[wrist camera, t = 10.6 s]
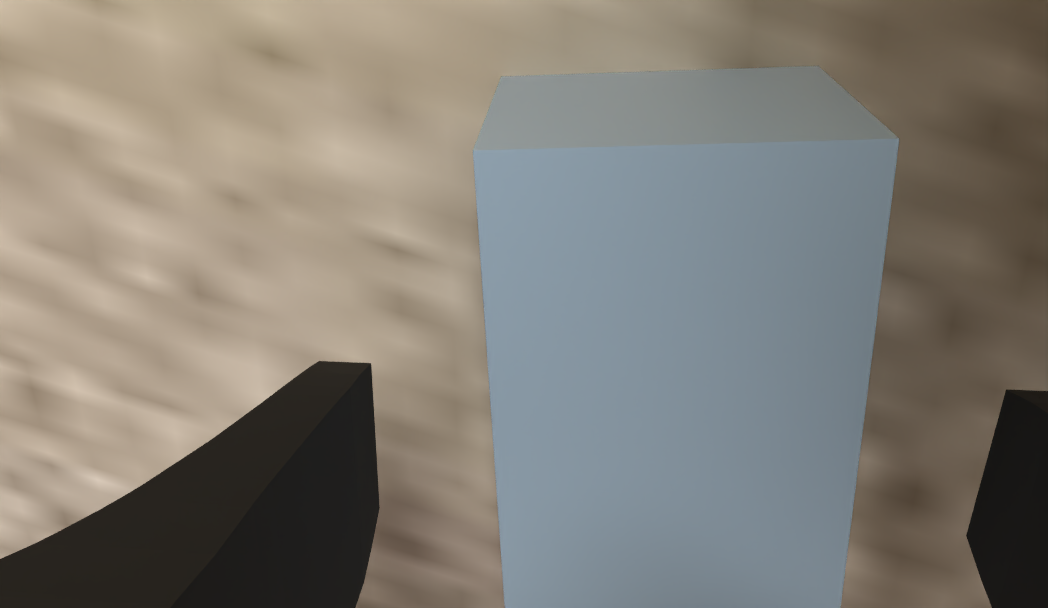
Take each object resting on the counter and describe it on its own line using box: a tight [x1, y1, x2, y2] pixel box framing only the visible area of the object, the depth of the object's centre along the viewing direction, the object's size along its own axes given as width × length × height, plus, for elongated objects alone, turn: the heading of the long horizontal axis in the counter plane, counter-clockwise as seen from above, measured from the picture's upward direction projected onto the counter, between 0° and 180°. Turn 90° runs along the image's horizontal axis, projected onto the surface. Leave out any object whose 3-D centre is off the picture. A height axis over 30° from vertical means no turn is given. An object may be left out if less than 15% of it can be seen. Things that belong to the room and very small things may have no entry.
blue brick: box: [473, 66, 899, 608], centre depth 13 cm, size 7×4×4 cm, turn 3°
